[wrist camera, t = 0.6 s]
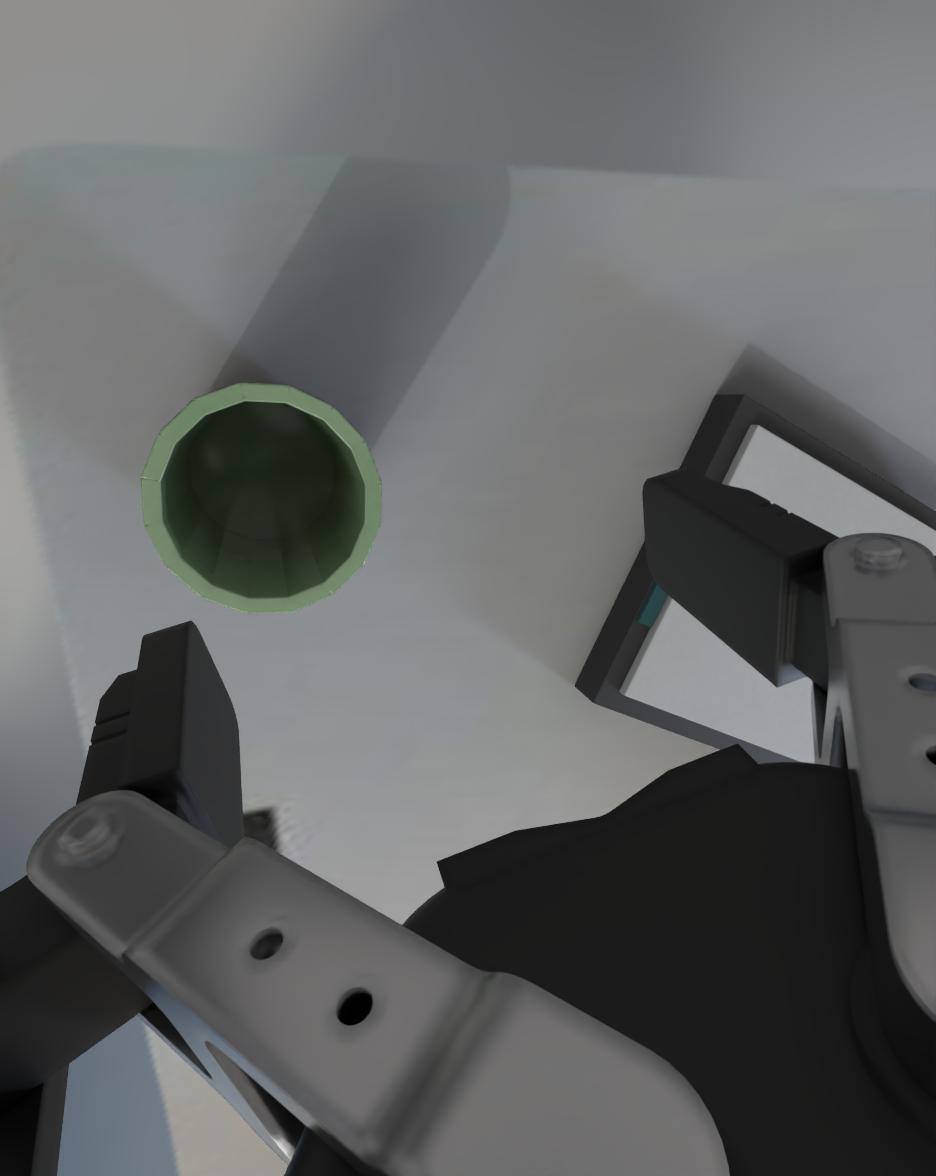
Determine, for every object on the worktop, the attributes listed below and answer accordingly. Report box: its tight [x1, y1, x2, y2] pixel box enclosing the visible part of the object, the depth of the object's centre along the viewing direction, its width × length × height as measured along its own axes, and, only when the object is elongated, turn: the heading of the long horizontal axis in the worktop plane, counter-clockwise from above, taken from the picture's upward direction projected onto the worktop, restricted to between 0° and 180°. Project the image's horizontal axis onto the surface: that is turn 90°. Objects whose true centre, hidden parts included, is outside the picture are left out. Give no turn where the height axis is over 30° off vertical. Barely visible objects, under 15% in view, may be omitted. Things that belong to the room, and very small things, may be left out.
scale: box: [575, 395, 936, 764], centre depth 37 cm, size 16×16×3 cm
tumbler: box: [141, 382, 382, 614], centre depth 25 cm, size 7×7×10 cm
